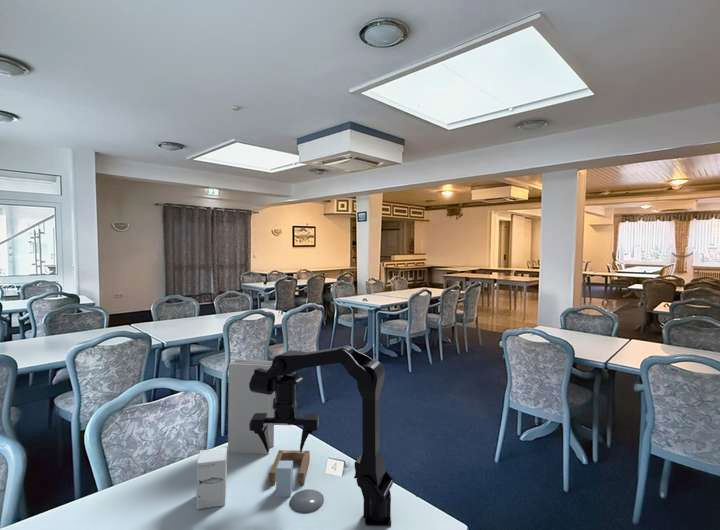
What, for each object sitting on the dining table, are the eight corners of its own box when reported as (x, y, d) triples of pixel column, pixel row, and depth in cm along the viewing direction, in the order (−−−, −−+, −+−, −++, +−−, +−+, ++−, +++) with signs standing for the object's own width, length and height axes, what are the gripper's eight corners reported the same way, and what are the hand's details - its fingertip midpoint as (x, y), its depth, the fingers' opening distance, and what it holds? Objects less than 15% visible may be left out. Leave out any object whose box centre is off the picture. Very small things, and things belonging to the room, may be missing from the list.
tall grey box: (273, 446, 137) (274, 361, 136) (268, 454, 131) (269, 365, 130) (234, 443, 138) (235, 359, 137) (228, 451, 132) (228, 363, 132)
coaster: (325, 491, 111) (325, 489, 111) (322, 512, 102) (322, 510, 102) (293, 491, 111) (293, 489, 111) (287, 512, 102) (287, 509, 102)
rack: (309, 461, 127) (309, 450, 127) (303, 485, 114) (304, 473, 114) (278, 460, 127) (278, 450, 127) (269, 484, 114) (269, 472, 114)
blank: (292, 488, 113) (293, 460, 112) (290, 496, 109) (290, 468, 108) (278, 487, 112) (279, 460, 112) (276, 496, 108) (276, 468, 108)
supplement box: (195, 510, 102) (195, 463, 102) (199, 493, 109) (199, 449, 109) (225, 506, 104) (225, 459, 104) (227, 490, 111) (227, 446, 111)
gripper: (320, 387, 118) (319, 438, 119) (258, 386, 117) (257, 438, 118) (317, 401, 107) (316, 457, 108) (249, 401, 106) (248, 457, 107)
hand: (284, 451), depth 110 cm, fingers open, 9 cm apart
